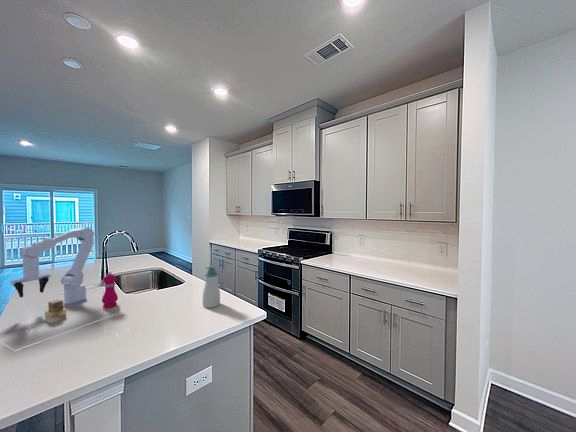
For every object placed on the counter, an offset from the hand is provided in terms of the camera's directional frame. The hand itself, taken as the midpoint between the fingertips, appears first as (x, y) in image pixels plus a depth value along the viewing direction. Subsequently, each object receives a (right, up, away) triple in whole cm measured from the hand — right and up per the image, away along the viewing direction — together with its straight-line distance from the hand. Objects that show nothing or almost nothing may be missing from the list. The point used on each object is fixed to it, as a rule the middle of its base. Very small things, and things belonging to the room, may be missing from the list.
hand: (31, 294), depth 127 cm
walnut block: (+17, -6, -5) cm, 19 cm away
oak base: (+17, -10, -4) cm, 20 cm away
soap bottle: (+89, -12, +16) cm, 91 cm away
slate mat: (+15, -11, 0) cm, 18 cm away
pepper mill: (+33, -11, +11) cm, 36 cm away
